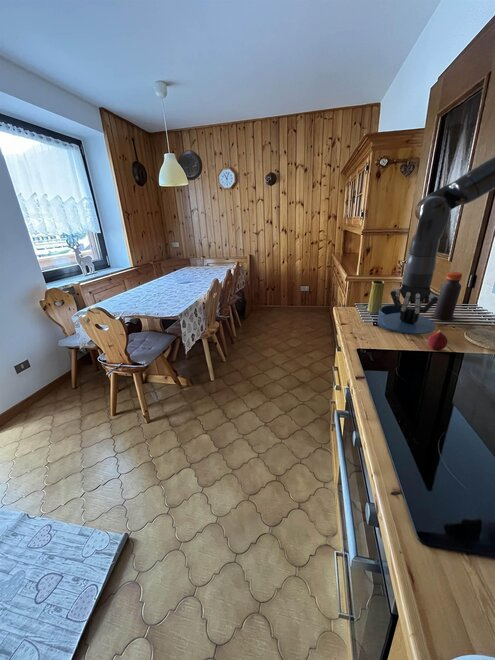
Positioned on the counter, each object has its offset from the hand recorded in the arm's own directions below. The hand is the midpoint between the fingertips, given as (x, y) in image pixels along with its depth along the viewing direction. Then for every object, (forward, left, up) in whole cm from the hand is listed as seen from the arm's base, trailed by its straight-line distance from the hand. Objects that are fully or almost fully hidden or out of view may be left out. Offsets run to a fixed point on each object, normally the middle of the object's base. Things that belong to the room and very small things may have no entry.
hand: (408, 321), depth 92 cm
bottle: (-8, -43, -14) cm, 46 cm away
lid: (0, 0, -1) cm, 1 cm away
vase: (+19, -37, -14) cm, 44 cm away
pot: (+7, -26, -14) cm, 30 cm away
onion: (-9, -12, -14) cm, 21 cm away
